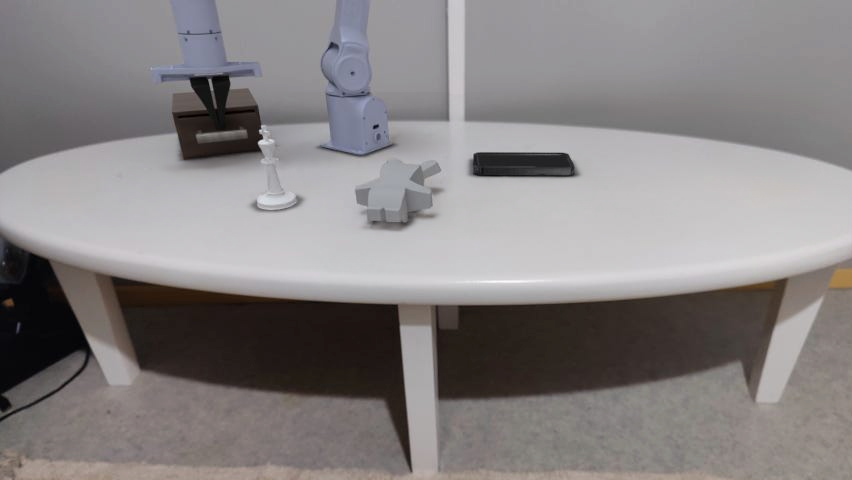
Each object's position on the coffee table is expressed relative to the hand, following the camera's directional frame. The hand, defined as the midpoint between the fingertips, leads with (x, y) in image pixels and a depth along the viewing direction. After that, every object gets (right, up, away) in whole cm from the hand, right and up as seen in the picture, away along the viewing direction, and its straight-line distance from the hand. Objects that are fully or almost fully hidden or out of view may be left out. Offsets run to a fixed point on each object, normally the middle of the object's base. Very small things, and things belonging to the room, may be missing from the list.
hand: (220, 128), depth 86 cm
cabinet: (-5, 0, +11) cm, 12 cm away
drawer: (-3, -1, +7) cm, 8 cm away
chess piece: (+14, -13, -13) cm, 23 cm away
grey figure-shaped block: (+30, -14, -14) cm, 35 cm away
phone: (+46, -6, 0) cm, 47 cm away
